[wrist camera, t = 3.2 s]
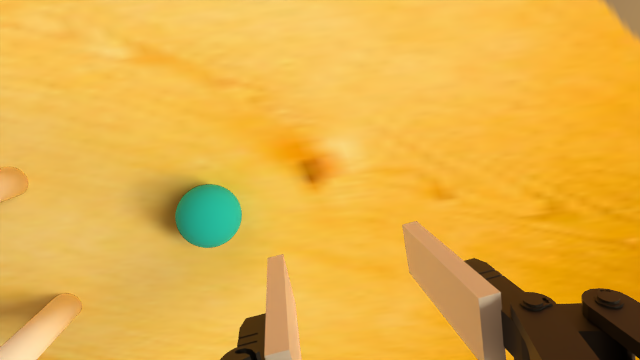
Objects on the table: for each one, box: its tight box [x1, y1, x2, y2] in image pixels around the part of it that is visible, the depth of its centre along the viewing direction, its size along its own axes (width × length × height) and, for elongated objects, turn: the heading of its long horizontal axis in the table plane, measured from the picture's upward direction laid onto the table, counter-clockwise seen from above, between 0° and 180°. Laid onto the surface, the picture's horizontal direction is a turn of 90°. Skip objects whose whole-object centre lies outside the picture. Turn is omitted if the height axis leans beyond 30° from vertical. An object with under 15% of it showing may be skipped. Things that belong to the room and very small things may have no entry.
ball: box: [175, 184, 242, 248], centre depth 30 cm, size 6×6×6 cm
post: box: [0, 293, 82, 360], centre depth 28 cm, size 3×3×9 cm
